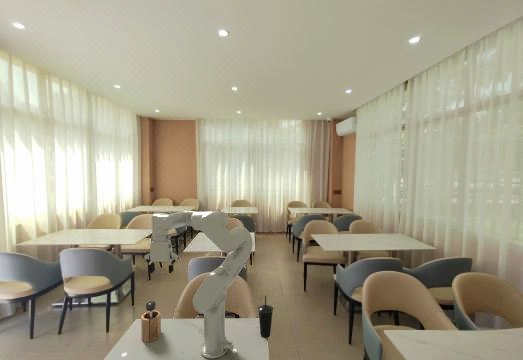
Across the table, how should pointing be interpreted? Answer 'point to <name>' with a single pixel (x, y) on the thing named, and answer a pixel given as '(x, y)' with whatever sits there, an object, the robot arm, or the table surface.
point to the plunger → (150, 307)
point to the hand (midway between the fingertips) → (161, 272)
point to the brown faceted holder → (150, 326)
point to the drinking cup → (265, 319)
